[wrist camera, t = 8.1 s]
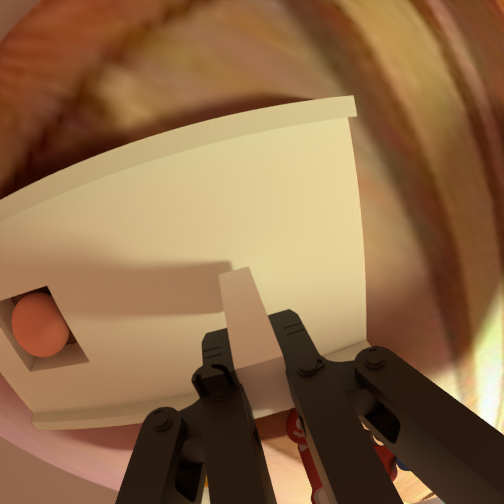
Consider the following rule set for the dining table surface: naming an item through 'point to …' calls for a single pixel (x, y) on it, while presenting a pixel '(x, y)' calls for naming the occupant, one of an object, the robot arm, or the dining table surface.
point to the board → (182, 256)
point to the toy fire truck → (318, 492)
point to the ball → (39, 325)
